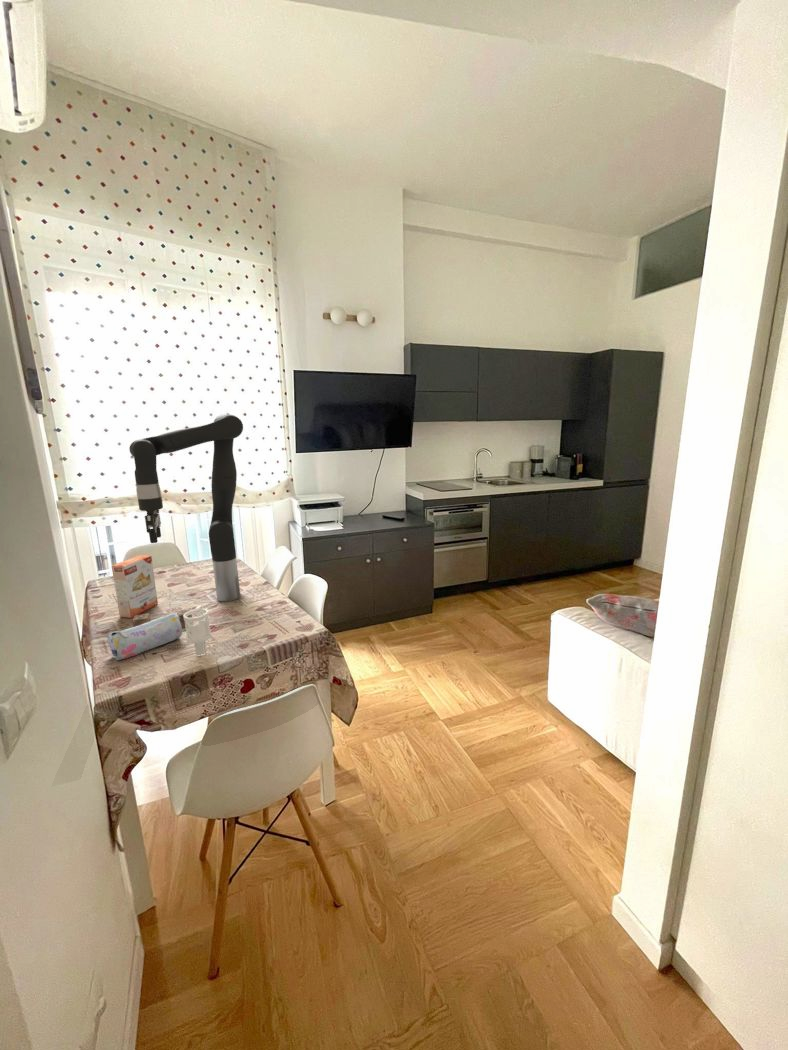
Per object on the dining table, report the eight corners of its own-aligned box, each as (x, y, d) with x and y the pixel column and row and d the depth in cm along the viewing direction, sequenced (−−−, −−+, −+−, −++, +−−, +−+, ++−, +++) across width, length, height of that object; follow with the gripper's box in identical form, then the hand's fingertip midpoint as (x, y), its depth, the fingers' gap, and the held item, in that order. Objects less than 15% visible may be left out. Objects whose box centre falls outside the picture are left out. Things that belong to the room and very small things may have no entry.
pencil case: (115, 666, 130) (110, 637, 128) (107, 656, 136) (102, 628, 134) (186, 640, 145) (182, 614, 143) (176, 632, 151) (172, 607, 149)
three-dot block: (151, 624, 157) (149, 612, 156) (148, 629, 153) (146, 617, 152) (137, 626, 156) (135, 614, 155) (134, 632, 152) (132, 620, 151)
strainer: (216, 647, 140) (211, 604, 136) (208, 659, 133) (202, 614, 129) (194, 648, 139) (188, 605, 136) (185, 660, 132) (178, 615, 129)
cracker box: (132, 618, 162) (123, 566, 158) (119, 617, 164) (109, 565, 159) (159, 603, 176) (151, 555, 171) (146, 603, 177) (138, 554, 172)
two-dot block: (192, 620, 160) (190, 608, 159) (191, 625, 156) (189, 613, 155) (179, 622, 159) (177, 610, 158) (177, 627, 155) (176, 615, 154)
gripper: (158, 498, 148) (164, 543, 152) (164, 492, 162) (170, 534, 165) (133, 500, 146) (140, 546, 150) (141, 494, 159) (148, 536, 163)
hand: (156, 540), depth 157 cm, fingers open, 8 cm apart
